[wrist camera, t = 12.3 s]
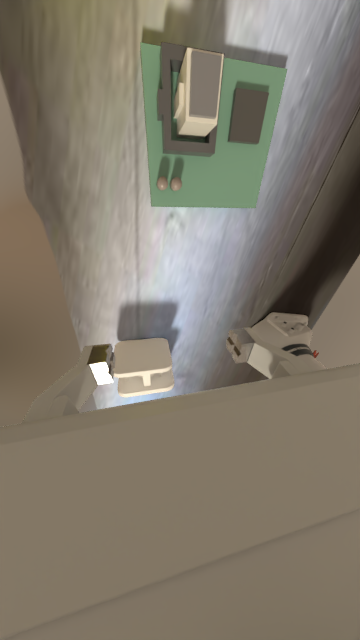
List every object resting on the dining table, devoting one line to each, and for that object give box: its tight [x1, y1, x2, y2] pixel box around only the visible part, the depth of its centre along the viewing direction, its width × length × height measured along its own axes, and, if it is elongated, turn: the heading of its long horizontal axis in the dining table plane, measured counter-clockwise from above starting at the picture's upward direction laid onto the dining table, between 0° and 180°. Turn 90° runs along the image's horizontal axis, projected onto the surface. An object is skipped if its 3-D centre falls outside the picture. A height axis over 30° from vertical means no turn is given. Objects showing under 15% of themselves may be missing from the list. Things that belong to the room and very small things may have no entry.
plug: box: [174, 47, 224, 140], centre depth 21 cm, size 4×5×7 cm
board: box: [141, 42, 287, 208], centre depth 25 cm, size 20×16×4 cm
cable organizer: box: [113, 338, 174, 397], centre depth 45 cm, size 15×11×12 cm
